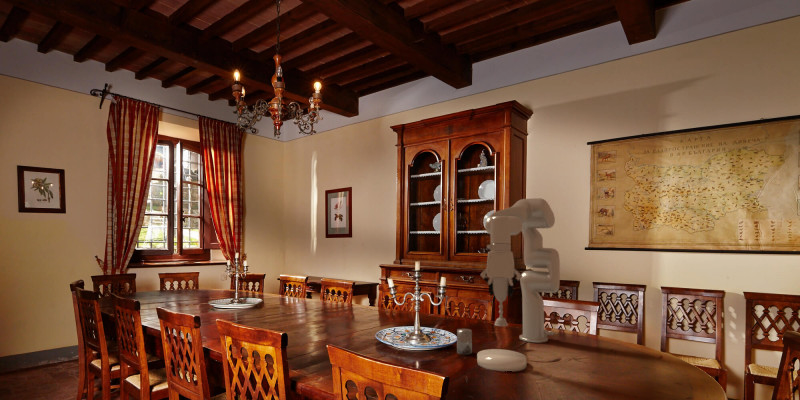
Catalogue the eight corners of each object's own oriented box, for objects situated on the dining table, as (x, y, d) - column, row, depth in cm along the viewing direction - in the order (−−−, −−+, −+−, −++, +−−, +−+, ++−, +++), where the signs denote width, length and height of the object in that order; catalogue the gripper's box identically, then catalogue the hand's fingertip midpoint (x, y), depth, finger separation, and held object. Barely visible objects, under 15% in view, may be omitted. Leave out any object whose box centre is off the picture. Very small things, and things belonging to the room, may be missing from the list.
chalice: (509, 323, 163) (509, 276, 165) (512, 327, 157) (512, 277, 158) (490, 322, 164) (490, 275, 166) (492, 326, 157) (492, 277, 159)
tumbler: (468, 350, 178) (468, 328, 178) (474, 354, 172) (474, 331, 173) (454, 351, 176) (454, 329, 177) (460, 355, 170) (460, 332, 171)
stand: (511, 355, 170) (511, 348, 170) (536, 369, 153) (535, 361, 153) (469, 358, 166) (469, 350, 166) (490, 373, 149) (489, 364, 149)
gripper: (476, 247, 163) (476, 295, 161) (522, 249, 156) (523, 298, 155) (479, 247, 169) (480, 293, 168) (524, 248, 163) (525, 295, 162)
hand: (500, 295), depth 161 cm, fingers closed on chalice, 6 cm apart
